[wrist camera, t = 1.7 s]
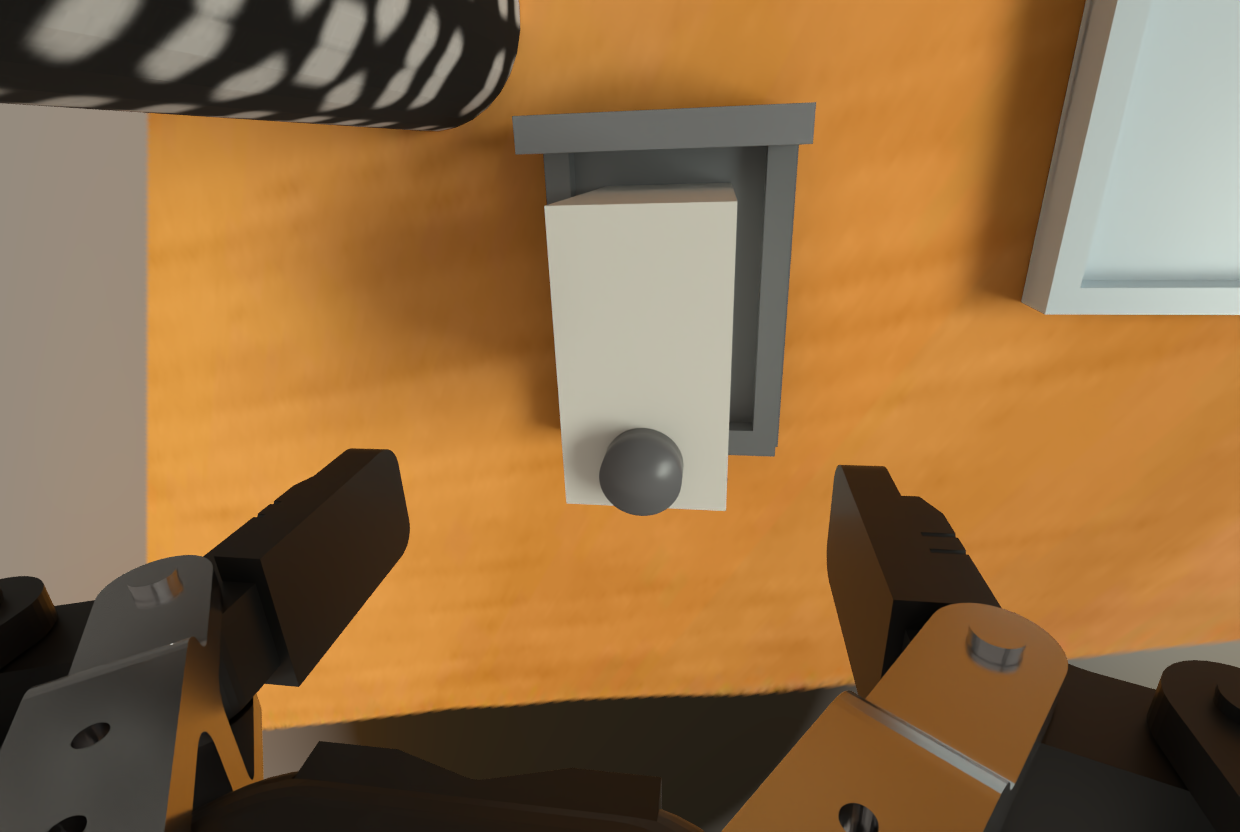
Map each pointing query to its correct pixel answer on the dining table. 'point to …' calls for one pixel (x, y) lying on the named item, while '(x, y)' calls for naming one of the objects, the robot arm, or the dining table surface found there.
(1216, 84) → the tray
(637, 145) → the bay
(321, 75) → the white-spotted black cylinder
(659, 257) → the white block with knob
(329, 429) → the dining table surface
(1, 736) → the robot arm
